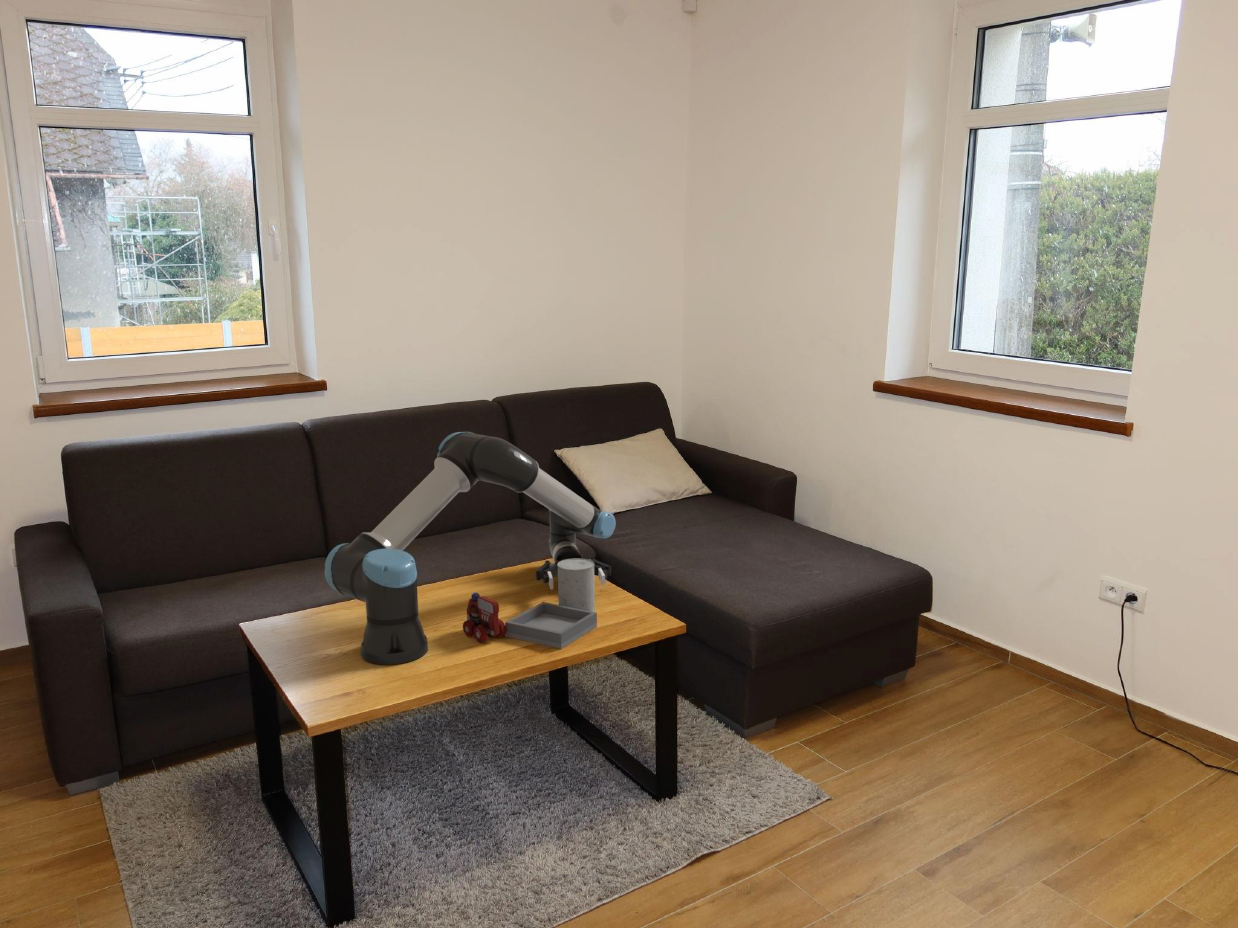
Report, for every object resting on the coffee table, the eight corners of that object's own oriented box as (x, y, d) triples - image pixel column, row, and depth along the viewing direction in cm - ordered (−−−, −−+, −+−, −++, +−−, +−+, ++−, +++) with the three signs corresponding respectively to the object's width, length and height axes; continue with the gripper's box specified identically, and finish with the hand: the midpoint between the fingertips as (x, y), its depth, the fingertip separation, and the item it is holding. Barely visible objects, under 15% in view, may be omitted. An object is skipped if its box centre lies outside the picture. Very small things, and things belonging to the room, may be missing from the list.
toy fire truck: (482, 625, 241) (480, 585, 239) (510, 639, 232) (509, 598, 230) (458, 632, 237) (456, 591, 235) (485, 647, 228) (484, 605, 226)
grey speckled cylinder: (594, 615, 247) (593, 569, 244) (556, 615, 247) (555, 569, 244) (596, 602, 256) (595, 558, 254) (559, 602, 256) (558, 558, 254)
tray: (505, 636, 234) (505, 621, 233) (543, 615, 247) (542, 601, 247) (561, 649, 226) (561, 634, 225) (597, 626, 239) (596, 612, 239)
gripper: (611, 568, 275) (625, 592, 255) (523, 573, 271) (530, 599, 251) (610, 542, 274) (625, 565, 253) (522, 548, 270) (529, 571, 249)
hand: (577, 582), depth 252 cm, fingers open, 13 cm apart
